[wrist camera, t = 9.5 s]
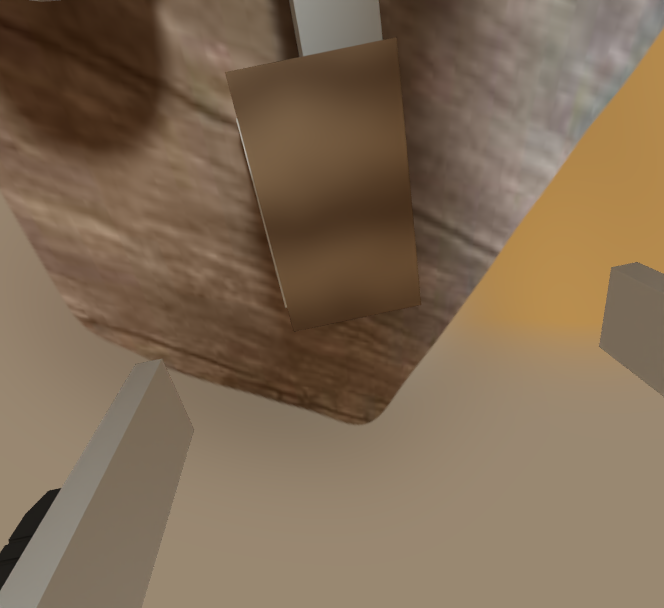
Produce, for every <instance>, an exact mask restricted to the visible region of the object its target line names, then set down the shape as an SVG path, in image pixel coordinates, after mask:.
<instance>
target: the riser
mask: <svg viewBox="0 0 664 608" xmlns="http://www.w3.org/2000/svg"><path fill="white" fill-rule="evenodd" d="M289 4H290V9H291V14H292V20H293V25H294V31H295V36H296V42H297V47H298V53H299V57H302V56H307V55H312V54H317V53H322V52H327V51H331V50H336V49H341V48H346V47H351V46H356V45H361V44H366V43H370V42H375V41H380V40H383V39H382V29H381V19H380V9H379V0H289Z"/></svg>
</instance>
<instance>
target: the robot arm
mask: <svg viewBox="0 0 664 608" xmlns="http://www.w3.org/2000/svg"><path fill="white" fill-rule="evenodd" d="M599 347H600V348H601V349H603V350H604V351H605V352H607V353H608V354H609V355H611V356H612V357H613V358H614V359H616V360H617V361H618V362H619V363H621V364H622V365H623V366H625V367H626V368H627V369H629V370H630V371H631V372H632V373H634V374H635V375H636V376H638V377H639V378H640V379H642V380H643V381H644V382H645V383H647V384H648V385H649V386H651V387H652V388H653V389H654V390H656V391H657V392H659V393H660V394H661V395H662V396H664V274H663V273H661V272H658V271H656V270H654V269H652V268H649V267H647V266H645V265H643V264H640V263H638V262H635V263H630V264H626V265H621V266H616V267H612V268H611V273H610V280H609V286H608V293H607V300H606V306H605V312H604V319H603V325H602V332H601V338H600V345H599ZM193 432H194V429H193V426H192V424H191V422H190V420H189V417H188V415H187V413H186V411H185V409H184V406H183V404H182V402H181V400H180V397H179V395H178V393H177V391H176V388H175V386H174V384H173V382H172V379H171V377H170V375H169V373H168V371H167V368H166V366H165V364H164V362H163V359H158V360H153V361H148V362H143V363H138V364H135V366H134V368H133V369H132V371H131V373H130V374H129V376H128V378H127V379H126V381H125V383H124V384H123V386H122V388H121V389H120V391H119V393H118V394H117V396H116V398H115V400H114V401H113V403H112V404H111V406H110V408H109V409H108V411H107V413H106V415H105V416H104V418H103V420H102V421H101V423H100V425H99V426H98V428H97V430H96V431H95V433H94V435H93V437H92V438H91V440H90V441H89V443H88V445H87V446H86V448H85V450H84V451H83V453H82V455H81V457H80V458H79V460H78V461H77V463H76V465H75V466H74V468H73V470H72V471H71V473H70V475H69V477H68V478H67V480H66V482H65V483H64V485H63V487H62V488H59V489H55V490H50V491H48V492H47V493H46V494H45V495H44V496H43V497H42V498H41V499H40V500H39V501H38V502H37V503H36V504H35V505H34V506H33V507H32V508H31V509H30V510H29V511H28V512H27V513H26V514H25V516H24V517H23V518H22V520H21V522H20V523H19V525H18V526H17V528H16V529H15V531H14V532H13V534H12V535H11V537H10V539H9V544H8V545H5V546H4V548H3V549H2V551H1V553H0V608H142V605H143V601H144V598H145V594H146V591H147V588H148V584H149V581H150V578H151V574H152V571H153V567H154V564H155V560H156V557H157V554H158V550H159V547H160V543H161V540H162V537H163V533H164V530H165V526H166V523H167V520H168V516H169V513H170V510H171V506H172V503H173V499H174V496H175V492H176V489H177V486H178V482H179V479H180V476H181V472H182V469H183V465H184V462H185V459H186V455H187V452H188V449H189V445H190V442H191V438H192V435H193Z"/></svg>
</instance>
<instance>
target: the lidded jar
mask: <svg viewBox="0 0 664 608" xmlns="http://www.w3.org/2000/svg"><path fill="white" fill-rule="evenodd" d="M31 1H39V2H43V1H59V0H31Z"/></svg>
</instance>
